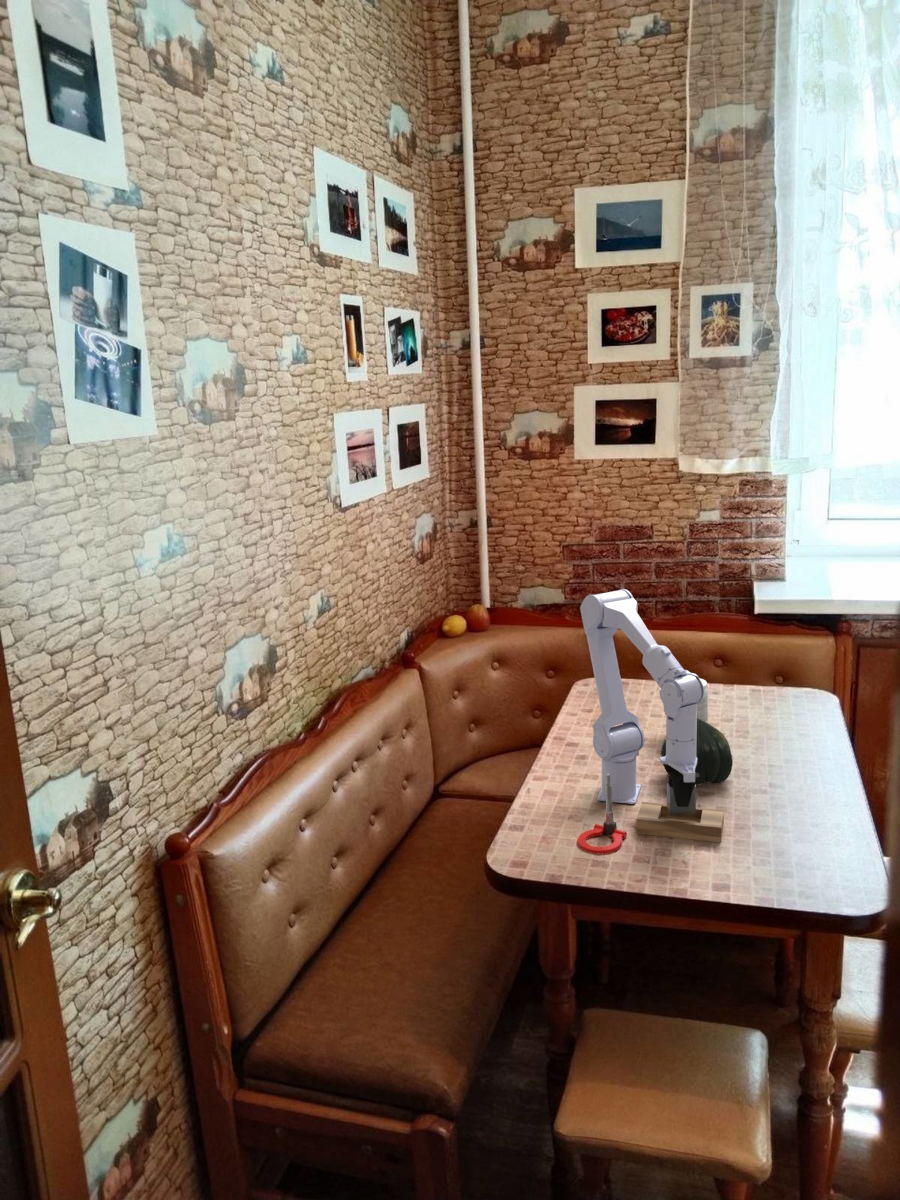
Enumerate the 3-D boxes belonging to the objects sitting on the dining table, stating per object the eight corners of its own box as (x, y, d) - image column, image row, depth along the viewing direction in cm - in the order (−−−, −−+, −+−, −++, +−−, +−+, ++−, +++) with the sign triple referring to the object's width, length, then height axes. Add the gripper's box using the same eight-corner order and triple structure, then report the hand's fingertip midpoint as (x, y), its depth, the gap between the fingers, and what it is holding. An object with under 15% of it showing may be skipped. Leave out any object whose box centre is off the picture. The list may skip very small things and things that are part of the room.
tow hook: (609, 860, 179) (631, 838, 186) (607, 797, 176) (629, 777, 183) (570, 849, 184) (593, 828, 191) (566, 787, 180) (590, 768, 188)
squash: (735, 776, 199) (730, 708, 206) (661, 775, 202) (659, 709, 209) (732, 796, 211) (727, 732, 218) (662, 796, 214) (660, 733, 222)
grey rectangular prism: (666, 809, 190) (666, 780, 188) (691, 808, 190) (692, 779, 188) (669, 815, 187) (670, 786, 185) (695, 814, 187) (696, 786, 185)
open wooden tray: (641, 815, 195) (641, 801, 195) (723, 823, 190) (723, 809, 189) (636, 833, 188) (636, 818, 187) (721, 842, 183) (721, 827, 182)
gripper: (652, 724, 192) (652, 787, 195) (668, 751, 178) (668, 819, 181) (688, 722, 192) (687, 786, 195) (706, 749, 178) (705, 817, 181)
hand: (680, 802), depth 188 cm, fingers closed on grey rectangular prism, 3 cm apart
